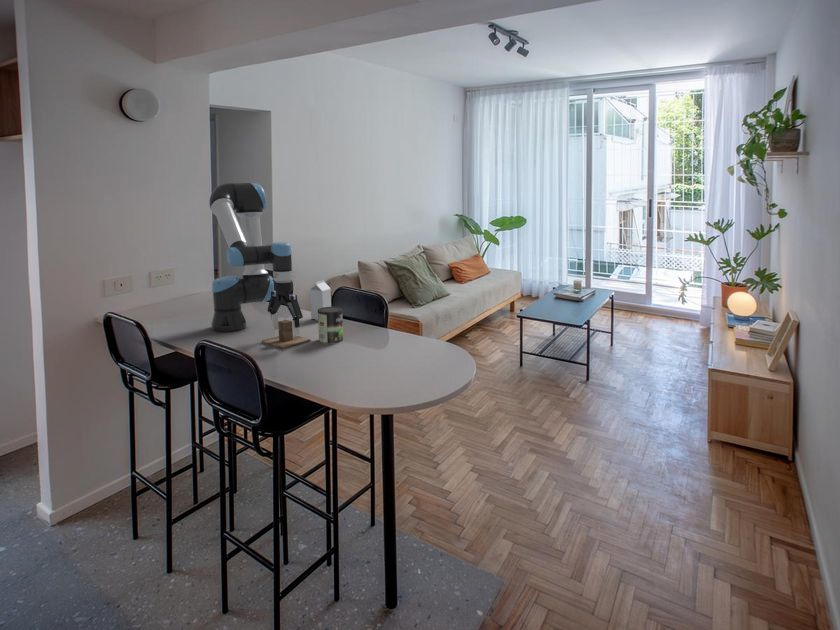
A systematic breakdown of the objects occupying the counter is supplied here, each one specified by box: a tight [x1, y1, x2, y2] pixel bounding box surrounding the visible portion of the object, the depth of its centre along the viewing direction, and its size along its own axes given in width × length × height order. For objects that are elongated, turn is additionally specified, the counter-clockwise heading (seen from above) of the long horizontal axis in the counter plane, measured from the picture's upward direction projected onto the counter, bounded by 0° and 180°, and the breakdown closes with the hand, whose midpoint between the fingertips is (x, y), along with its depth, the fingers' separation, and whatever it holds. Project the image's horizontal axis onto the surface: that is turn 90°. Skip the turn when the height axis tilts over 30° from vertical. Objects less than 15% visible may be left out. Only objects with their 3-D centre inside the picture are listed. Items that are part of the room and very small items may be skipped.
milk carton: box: [309, 279, 332, 321], centre depth 265 cm, size 7×7×19 cm
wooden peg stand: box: [261, 319, 311, 349], centre depth 226 cm, size 14×14×9 cm
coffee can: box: [317, 306, 344, 345], centre depth 229 cm, size 10×10×14 cm
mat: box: [257, 339, 316, 352], centre depth 227 cm, size 17×17×1 cm
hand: (285, 332), depth 226 cm, fingers open, 12 cm apart
